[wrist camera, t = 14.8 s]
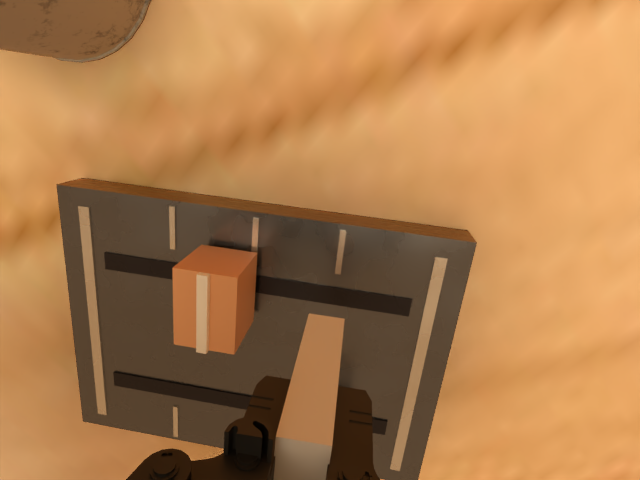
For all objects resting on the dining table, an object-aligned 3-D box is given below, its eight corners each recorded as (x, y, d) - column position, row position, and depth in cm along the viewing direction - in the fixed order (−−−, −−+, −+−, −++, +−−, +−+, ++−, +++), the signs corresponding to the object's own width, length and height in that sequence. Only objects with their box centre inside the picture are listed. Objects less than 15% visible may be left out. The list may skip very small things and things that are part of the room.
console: (102, 400, 29) (82, 422, 27) (82, 178, 23) (55, 184, 21) (413, 458, 27) (416, 486, 25) (467, 230, 21) (477, 243, 19)
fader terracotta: (200, 312, 22) (170, 347, 19) (201, 244, 21) (169, 270, 18) (253, 320, 22) (232, 358, 19) (257, 252, 21) (235, 280, 17)
